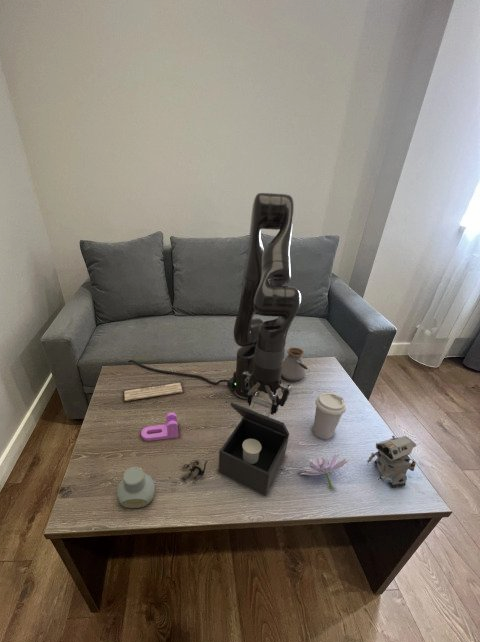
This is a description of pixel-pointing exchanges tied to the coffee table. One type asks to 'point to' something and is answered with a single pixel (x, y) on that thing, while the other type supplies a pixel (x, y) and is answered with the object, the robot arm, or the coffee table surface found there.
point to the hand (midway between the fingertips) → (261, 408)
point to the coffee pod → (251, 450)
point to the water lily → (324, 467)
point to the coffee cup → (328, 414)
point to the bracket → (162, 429)
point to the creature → (194, 469)
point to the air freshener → (135, 488)
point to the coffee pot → (294, 365)
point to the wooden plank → (152, 391)
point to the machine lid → (259, 417)
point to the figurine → (394, 459)
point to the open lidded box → (268, 460)
